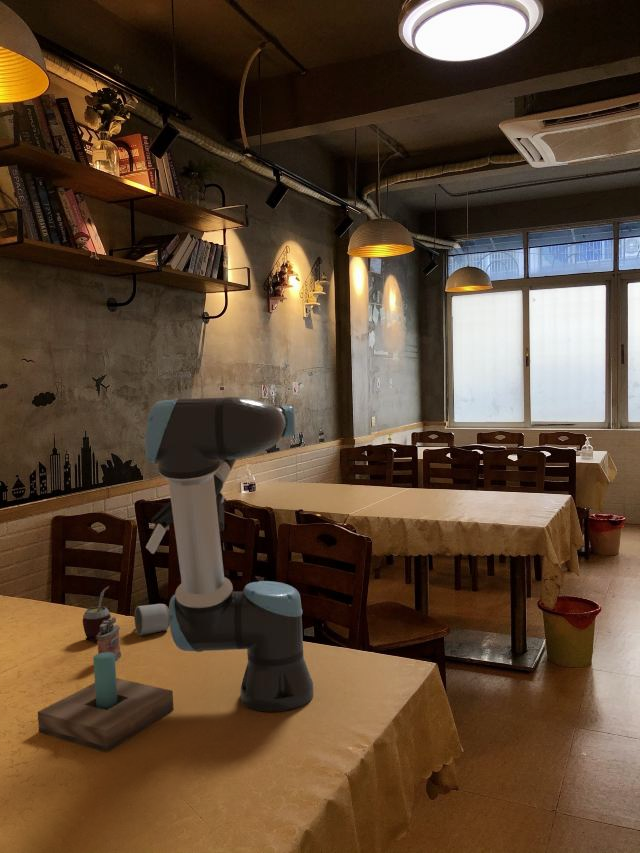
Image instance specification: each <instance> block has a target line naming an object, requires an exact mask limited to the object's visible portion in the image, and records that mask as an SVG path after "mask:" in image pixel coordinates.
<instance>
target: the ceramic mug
mask: <svg viewBox="0 0 640 853" xmlns="http://www.w3.org/2000/svg"><path fill="white" fill-rule="evenodd" d="M133 617H134V626H135V627H134V628H135V630H136V633H137V635H138V636H139V635H140V636H141V637H142V636H146V635H150V634H155V633H159V632H163V631H165V630H168V629H169V628H170V625H169V621H170V618H169V606H167V604H165V603H155V604H146V605H137V606H136V607H135V609H134V616H133Z"/></svg>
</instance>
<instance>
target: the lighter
mask: <svg viewBox="0 0 640 853" xmlns="http://www.w3.org/2000/svg"><path fill="white" fill-rule="evenodd" d="M116 618H117V617H116V616H111V618H110V619H108V621H103V623H102V625H100V630H101V632H99V633H98V634H97V639H98V643H97V651H98V653H97V654H100V653H105V652H111V653H114V654H115V663H116V662H117V661H119V660H120V658H122V652H121V647H120V646H121V645H120V628H121V627H120V625H118V624H115V623H117V619H116Z"/></svg>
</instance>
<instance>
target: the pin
mask: <svg viewBox="0 0 640 853" xmlns="http://www.w3.org/2000/svg"><path fill="white" fill-rule="evenodd" d="M92 659H93V671H94V672H93V675H94V683H95V691H96V707H97V708H100V709H104V710H108V709H110V708H111V707H113V706H115V705H117V704H118V701H117V685H116V678H117V672H116V668H117V667H116V662H115V654H114V653H111V652H105V653H100V654H98V653H96V655H94V656H93V658H92Z"/></svg>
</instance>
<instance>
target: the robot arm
mask: <svg viewBox="0 0 640 853" xmlns="http://www.w3.org/2000/svg"><path fill="white" fill-rule="evenodd" d="M294 435H296V414H295V409H294V407H293V406H290V405H277V406H276V405H273V404H271V403H268V402H265V401H261V400H256V399H251V398H247V397H237V396H224V397H206V398H204V397H203V398H199V397H198V398H179V397H176V398H175V399H166V400H158V401H157V402H155V403H154V404H153V405H152V407H151V408H150V410H149V414H148V417H147V422H146V428H145V436H144V438H145V439H144V440H145V441H144V449H145V450H144V451H145V452H144V453H145V456H146V460H147V461H148V462H149V463H151V464H157V465H158V473H159V475H160V476H161V477H163V478H164V479H166V480H167V481H168V486H169V495H170V500H169V501H168V502H167V503H166V504H165V505H164V506H163V507H161V509H160V510H159V511H158V512H156V513H155V515H153V517H152V518H151V519H150V521H151V522H152V523H153V524H154V528H153V529H152V532H150V538H149V539H148V542H147V543H146V546H145V548H146V550H148V551H149V552H150V554H152V555H154V554H155V553H156V551H157V550H158V547H159V545H160V543H161V541H162V539H163V537H164V536H165V534H166V532H167V530H166V528H167V527H168V526H170V525H172V524H173V527H174V528H173V529H174V534H175V541H176V550H177V557H178V558H177V559H178V564H179V565H178V566H179V573H180V581H181V583H180V584H179V585H178V586H177V588H176V590H175V592H174V594H173V595H172V596H171V598H170V601H169V603H168V604H169V606H168V609H169V618H170V621H169V630H170V634H171V637H172V640H173V642H174V644H175V647H177V648H178V649H179V650H182V651H183V652H184V651H185V652H197V653H202V652H203V651H204V652H205V651H207V652H208V651H230V650H231V651H232V650H246V653H247V664H246V667H245V670H244V674H243V678H242V682H241V685H240V700H241V702H242V704H243V705H244V706H246V707H247V708H249V709H252V710H254V711H259V712H268V713H269V712H270V713H276V712H285V711H290V710H294V709H297V708H300V707H302V706H304V705H306V704H308V703H309V702H310V701H311V700H312V699H313V697H314V682H313V679H312V677H311V674H310V671H309V668H308V666H307V663H306V661H305V657H304V641H303V620H302V615H303V609H302V602H301V601H302V600H301V599H302V598H301V595H300V592H299V590H297V589H296V587H293V586H291V585H290V584H286V583H284V582H279V581H278V582H277V581H270V580H258V581H253V582H250V583H247V584H246V585H245V586H244V589H243V591H234V589H233V588H234V587H233V583H232V582H231V580H230V579H229V578H227V577H226V576H225V574H224V573H225V572H224V564H223V553H222V545H221V544H222V543H221V533H220V532H224V530H225V505H226V501H227V498H225V496H224V494H223V493H222V490H223V488H224V484H225V483H226V481H227V479H228V477H229V474H230V473H231V471H232V469H233V467H234V464H235V463H236V461H237V459H243V458H247V457H250V456H253V455H254V456H255V455H257V454H260V453H263V452H265V451H266V450H269V449H271V448H272V447H274V446H275V445H277V443H278V442H279V441H281V440H280V439H281V438H288V437H293V436H294Z"/></svg>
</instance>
